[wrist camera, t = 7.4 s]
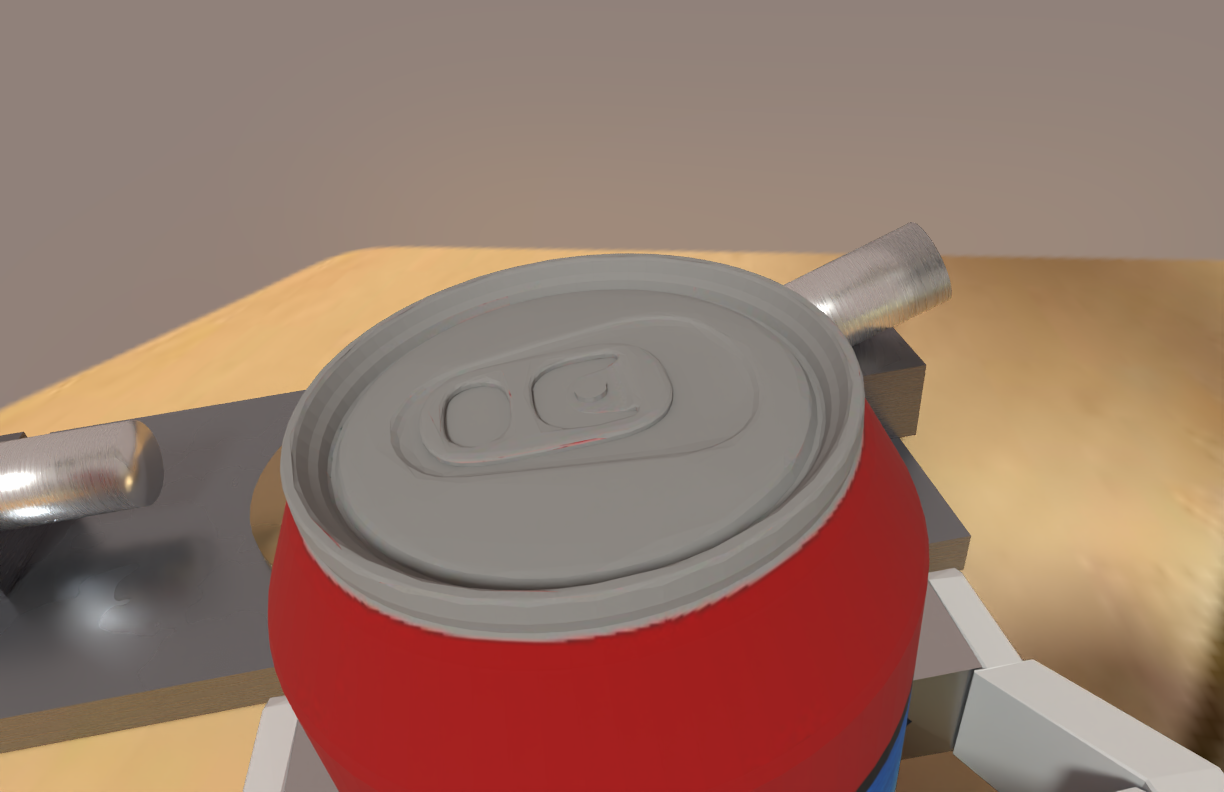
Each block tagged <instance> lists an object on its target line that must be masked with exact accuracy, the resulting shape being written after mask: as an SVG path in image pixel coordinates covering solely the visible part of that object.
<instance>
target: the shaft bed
mask: <svg viewBox="0 0 1224 792" xmlns="http://www.w3.org/2000/svg"><path fill="white" fill-rule="evenodd" d="M783 286H785V287H787V288H789V289H791V290H793V291H795V292H796V293H798V294H800V295H801V296H803V297H804V298H806V299H807V300H808V301H810V302H811V303H812V304H814V305H815V306H816V307H818V308H819V309H820V310H822V311H823V312H824V313H825V314H826V315H827V316H828V317H829V318H830V319H831V320H832V321H833V322H834V323H835V324H836V325H837V326H838V328H839V329H840V330H841V332H842V333H843V334H844V335H845V337H846V338H847V340H848V342H849V343H850V345H851V346H852V348H853V350H854V352H855V355H856V357H857V360H858V362H859V365H860V368H861V372H862V375H863V381H864V390H865V398H866V400H867V401H868V403H869V405H870V406H871V408H872V410H873V411H874V413H875V415H876V416H877V418H878V420H879V421H880V423H881V425H882V426H883V428H884V429H885V431H886V433H887V434H888V436H889V438H890V439H891V441H892V443H893V444H894V446H895V448H896V449H897V451H898V453H899V454H900V456H901V458H902V460H903V461H904V463H905V465H906V467H907V469H908V471H909V473H910V476H911V478H912V480H913V483H914V485H915V487H916V490H917V493H918V496H919V499H920V502H921V506H922V509H923V512H924V516H925V520H926V526H927V532H928V539H929V572H934V571H939V570H944V569H949V568H956V569H957V570H963V569H964V565H965V560H966V556H967V551H968V547H969V542H970V538H971V535H970V534H969V533H968V531H967V530H966V528H965V527H964V526H963V524H962V523H961V522H960V520H959V519H958V518H957V516H956V515H955V513H954V512H953V511H952V509H951V508H950V507H949V505H948V504H947V503H946V501H945V500H944V498H943V497H942V496H941V494H940V493H939V492H938V490H937V489H936V487H935V486H934V485H933V483H932V482H931V481H930V479H929V478H928V477H927V475H926V474H925V472H924V471H923V470H922V468H921V467H920V466H919V464H918V463H917V462H916V460H915V459H914V457H913V456H912V455H911V453H910V452H909V451H908V449H907V448H906V447H905V445H904V444H903V442H902V441H901V440H900V437H905V436H911V435H916V430H917V423H918V416H919V410H920V403H921V396H922V390H923V383H924V376H925V370H926V364H925V363H924V362H923V361H922V360H921V359H920V357H919V356H918V355H917V354H916V353H915V352H914V351H913V350H912V348H911V347H910V346H909V345H908V344H907V343H906V342H905V341H904V339H903V338H902V337H901V336H900V335H899V334H898V333H897V332H896V330H895V329H894V328H893V327H894V326H896V325H898V324H900V323H902V322H905V321H907V320H909V319H911V318H913V317H915V316H917V315H919V314H921V313H923V312H925V311H928V310H930V309H932V308H934V307H936V306H938V305H940V304H942V303H944V302H946V301H948V300H950V298H951V295H952V289H951V283H950V279H949V275H948V272H947V270H946V267H945V265H944V262H943V260H942V258H941V256H940V254H939V252H938V251H937V248H936V247H935V245H934V243H933V242H932V240H931V239H930V238H929V236H928V235H927V234H926V232H925V231H924V230H923V229H922V228H921V227H920V226H919V225H917V224H916V223H913V222H910V223H908V224H906V225H904V226H902V227H900V228H898V229H896V230H894V231H892V232H890V233H888V234H886V235H884V236H882V237H880V238H878V239H876V240H874V241H872V242H870V243H868V244H866V245H864V246H862V247H860V248H858V249H856V250H854V251H852V252H850V253H847V254H845V255H843V256H841V257H839V258H837V259H835V260H833V261H831V262H829V263H827V264H825V265H823V266H821V267H819V268H817V269H815V270H813V271H811V272H809V273H807V274H805V275H803V276H801V277H799V278H797V279H795V280H793V281H791V282H789V283H787V284H785V285H783ZM305 391H306V390H302V391H296V392H290V393H284V394H278V395H272V396H266V397H261V398H255V399H249V400H243V401H237V402H231V403H225V404H219V405H213V406H207V407H201V408H195V409H189V410H183V411H177V412H171V413H165V414H159V415H153V416H147V417H141V418H135V419H129V420H123V421H117V422H111V423H105V424H99V425H93V426H87V427H81V428H75V429H69V430H63V431H57V432H51V433H50V434H46V435H40V436H34V437H27V436H26V435H25V433H24V432H20V433H14V434H8V435H2V436H0V753H5V752H10V751H15V750H20V749H26V748H31V747H36V746H41V745H47V744H52V743H57V742H62V741H67V740H73V739H78V738H83V737H88V736H94V735H99V734H104V733H109V732H115V731H120V730H125V729H130V728H136V727H141V726H146V725H151V724H156V723H162V722H167V721H172V720H177V719H183V718H188V717H193V716H198V715H204V714H209V713H214V712H219V711H225V710H230V709H235V708H240V707H245V706H251V705H256V704H261V703H266V702H268V701H269V699H270V698H272V697H277V696H283V695H285V694H284V692H283V690H282V687H281V685H280V682H279V679H278V676H277V674H276V671H275V668H274V663H273V659H272V654H271V650H270V643H269V632H268V592H269V585H270V578H271V572H272V566H273V562H274V557H275V552H276V547H277V543H278V538H279V533H280V529H281V524H282V519H283V514H284V510H285V505H286V497H285V494H284V491H283V488H282V481H281V475H280V459H281V449H282V441H283V438H284V434H285V431H286V428H287V425H288V422H289V420H290V418H291V415H292V413H293V411H294V409H295V407H296V405H297V404H298V402H299V400H300V398H301V396H302V395H303V394H304V392H305Z"/></svg>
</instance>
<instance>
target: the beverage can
mask: <svg viewBox="0 0 1224 792" xmlns="http://www.w3.org/2000/svg"><path fill="white" fill-rule="evenodd" d="M280 475H281V481H282V488H283V491H284V494H285V497H286V505H285V510H284V514H283V519H282V524H281V529H280V533H279V538H278V543H277V547H276V552H275V557H274V562H273V566H272V572H271V578H270V585H269V592H268V632H269V643H270V650H271V654H272V659H273V663H274V668H275V671H276V674H277V676H278V679H279V682H280V685H281V687H282V690H283V692H284V694H285V696H286V698H287V700H288V702H289V704H290V706H291V707H292V709H293V711H294V713H295V715H296V717H297V718H298V720H299V722H300V724H301V726H302V727H303V729H304V731H305V733H306V734H307V736H308V738H309V740H310V741H311V743H312V745H313V747H314V749H315V750H316V752H317V754H318V756H319V757H320V759H321V761H322V763H323V764H324V766H325V768H326V770H327V772H328V773H329V775H330V777H331V779H332V780H333V782H334V784H335V786H336V787H337V789H338V791H339V792H895V790H896V784H897V778H898V772H899V766H900V760H901V754H902V748H903V742H904V736H905V730H906V724H907V718H908V711H909V705H910V698H911V691H912V685H913V678H914V671H915V665H916V658H917V651H918V645H919V638H920V631H921V625H922V618H923V611H924V605H925V598H926V591H927V584H928V573H929V539H928V532H927V526H926V520H925V516H924V512H923V509H922V506H921V502H920V499H919V496H918V493H917V490H916V487H915V485H914V483H913V480H912V478H911V476H910V473H909V471H908V469H907V467H906V465H905V463H904V461H903V460H902V458H901V456H900V454H899V453H898V451H897V449H896V448H895V446H894V444H893V443H892V441H891V439H890V438H889V436H888V434H887V433H886V431H885V429H884V428H883V426H882V425H881V423H880V421H879V420H878V418H877V416H876V415H875V413H874V411H873V410H872V408H871V406H870V405H869V403H868V401H867V400H866V398H865V390H864V381H863V375H862V372H861V368H860V365H859V362H858V360H857V357H856V355H855V352H854V350H853V348H852V346H851V345H850V343H849V342H848V340H847V338H846V337H845V335H844V334H843V333H842V332H841V330H840V329H839V328H838V326H837V325H836V324H835V323H834V322H833V321H832V320H831V319H830V318H829V317H828V316H827V315H826V314H825V313H824V312H823V311H822V310H820V309H819V308H818V307H816V306H815V305H814V304H812V303H811V302H810V301H808V300H807V299H806V298H804V297H803V296H801V295H800V294H798V293H796V292H795V291H793V290H791V289H789V288H787V287H785V286H783V285H781V284H779V283H777V282H775V281H773V280H771V279H768V278H766V277H763V276H761V275H758V274H755V273H752V272H749V271H746V270H743V269H740V268H737V267H733V266H729V265H725V264H721V263H716V262H712V261H707V260H701V259H695V258H689V257H680V256H671V255H659V254H601V255H587V256H576V257H568V258H560V259H552V260H547V261H542V262H537V263H532V264H527V265H522V266H517V267H513V268H509V269H505V270H501V271H497V272H494V273H490V274H487V275H483V276H480V277H477V278H474V279H471V280H468V281H466V282H463V283H460V284H458V285H455V286H452V287H449V288H447V289H444V290H442V291H439V292H437V293H435V294H432V295H430V296H428V297H426V298H424V299H422V300H419V301H417V302H415V303H413V304H411V305H409V306H407V307H405V308H403V309H402V310H400V311H398V312H396V313H394V314H393V315H391V316H389V317H388V318H386V319H384V320H383V321H381V322H379V323H378V324H376V325H375V326H373V327H372V328H370V329H369V330H367V331H366V332H365V333H363V334H362V335H361V336H359V337H358V338H357V339H355V340H354V341H353V342H351V343H350V344H349V345H348V346H346V347H345V348H344V349H343V350H342V351H341V352H340V353H339V354H337V355H336V356H335V357H334V358H333V359H332V360H331V361H330V362H329V363H328V364H327V365H326V366H325V367H324V368H323V369H322V370H321V372H320V373H319V374H318V375H317V376H316V378H315V379H314V380H313V382H312V383H311V384H310V386H309V387H308V388H307V390H306V391H305V392H304V394H303V395H302V396H301V398H300V400H299V402H298V404H297V405H296V407H295V409H294V411H293V413H292V415H291V418H290V420H289V422H288V425H287V428H286V431H285V434H284V438H283V441H282V449H281V459H280Z"/></svg>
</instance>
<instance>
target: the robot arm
mask: <svg viewBox="0 0 1224 792" xmlns="http://www.w3.org/2000/svg"><path fill="white" fill-rule="evenodd" d="M953 750H954V751H953ZM948 751H953V754H954V755H955V756H956V757H957V758H958V759H960V760H961V761H962V762H963V763H964V764H966V765H967V766H968V767H969V768H970V769H972V770H973V771H974V772H975V773H976V774H978V775H979V776H980V777H981V778H982V779H984V780H985V781H986V782H987V783H988V784H990V785H991V786H992V787H993V788H994V789H996V790H997V791H998V792H1224V773H1223V772H1222V770H1221V769H1220V768H1219V767H1218V766H1216V765H1214V764H1212V763H1211V762H1209V761H1207V760H1206V759H1204V758H1202V757H1200V756H1199V755H1197V754H1195V753H1193V752H1192V751H1190V750H1188V749H1187V748H1185V747H1183V746H1181V745H1180V744H1178V743H1176V742H1175V741H1173V740H1171V739H1169V738H1168V737H1166V736H1164V735H1163V734H1161V733H1159V732H1157V731H1156V730H1154V729H1152V728H1151V727H1149V726H1147V725H1145V724H1144V723H1142V722H1140V721H1139V720H1137V719H1135V718H1133V717H1132V716H1130V715H1128V714H1127V713H1125V712H1123V711H1121V710H1120V709H1118V708H1116V707H1115V706H1113V705H1111V704H1109V703H1108V702H1106V701H1104V700H1103V699H1101V698H1099V697H1097V696H1096V695H1094V694H1092V693H1091V692H1089V691H1087V690H1085V689H1084V688H1082V687H1080V686H1079V685H1077V684H1075V683H1073V682H1072V681H1070V680H1068V679H1067V678H1065V677H1063V676H1061V675H1060V674H1058V673H1056V672H1055V671H1053V670H1051V669H1049V668H1048V667H1046V666H1044V665H1043V664H1041V663H1039V662H1037V661H1036V660H1034V659H1030V660H1024V661H1023V660H1022V659H1021V657H1020V656H1019V654H1018V653H1017V652H1016V650H1015V649H1014V647H1013V646H1012V644H1011V643H1010V641H1009V640H1008V639H1007V637H1006V636H1005V634H1004V633H1003V631H1002V630H1001V628H1000V627H999V626H998V624H997V623H996V621H995V620H994V618H993V617H992V615H991V614H990V613H989V611H988V610H987V608H986V607H985V605H984V604H983V602H982V601H981V600H980V598H979V597H978V595H977V594H976V592H975V591H974V589H973V588H972V587H971V585H970V584H969V582H968V581H967V579H966V578H965V576H964V575H963V574H962V573H961V572H960V571H959V570H957V569H956V568H949V569H944V570H939V571H934V572H929V573H928V584H927V591H926V598H925V605H924V611H923V618H922V625H921V631H920V638H919V645H918V651H917V658H916V665H915V671H914V678H913V685H912V691H911V698H910V705H909V711H908V718H907V724H906V730H905V736H904V742H903V748H902V754H901V760H902V759H908V758H914V757H919V756H925V755H931V754H936V753H942V752H948ZM243 792H339V791H338V789H337V787H336V786H335V784H334V782H333V780H332V779H331V777H330V775H329V773H328V772H327V770H326V768H325V766H324V764H323V763H322V761H321V759H320V757H319V756H318V754H317V752H316V750H315V749H314V747H313V745H312V743H311V741H310V740H309V738H308V736H307V734H306V733H305V731H304V729H303V727H302V726H301V724H300V722H299V720H298V718H297V717H296V715H295V713H294V711H293V709H292V707H291V706H290V704H289V702H288V700H287V698H286V696H285V695H283V696H277V697H272V698H270V699H269V701H268V702H267V704H266V706H265V707H264V709H263V711H262V715H261V719H260V723H259V727H258V731H257V735H256V739H255V743H254V748H253V752H252V756H251V760H250V764H249V768H248V772H247V776H246V780H245V785H244V789H243Z"/></svg>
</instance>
